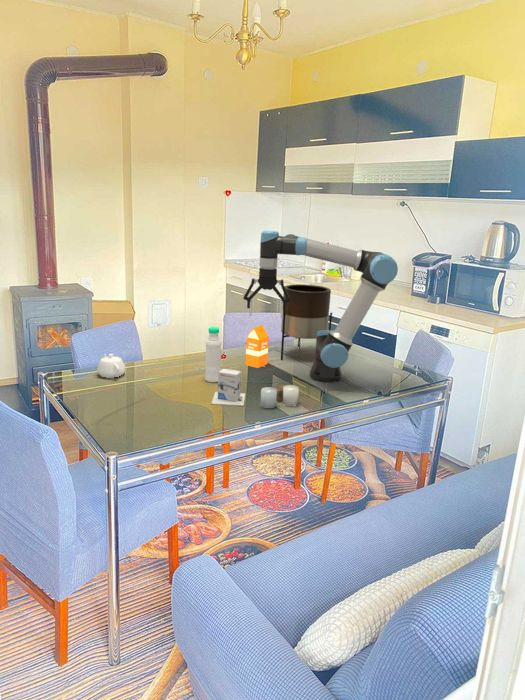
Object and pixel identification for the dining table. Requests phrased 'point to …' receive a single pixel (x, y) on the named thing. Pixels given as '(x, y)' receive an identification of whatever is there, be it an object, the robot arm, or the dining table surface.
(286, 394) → the cream rounded-top cylinder
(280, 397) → the walnut block
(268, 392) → the domed pale cylinder
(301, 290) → the planter
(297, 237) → the robot arm
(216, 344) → the water bottle
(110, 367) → the teapot
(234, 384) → the ink box
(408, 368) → the dining table surface
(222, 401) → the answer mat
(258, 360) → the orange juice
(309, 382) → the dining table surface
